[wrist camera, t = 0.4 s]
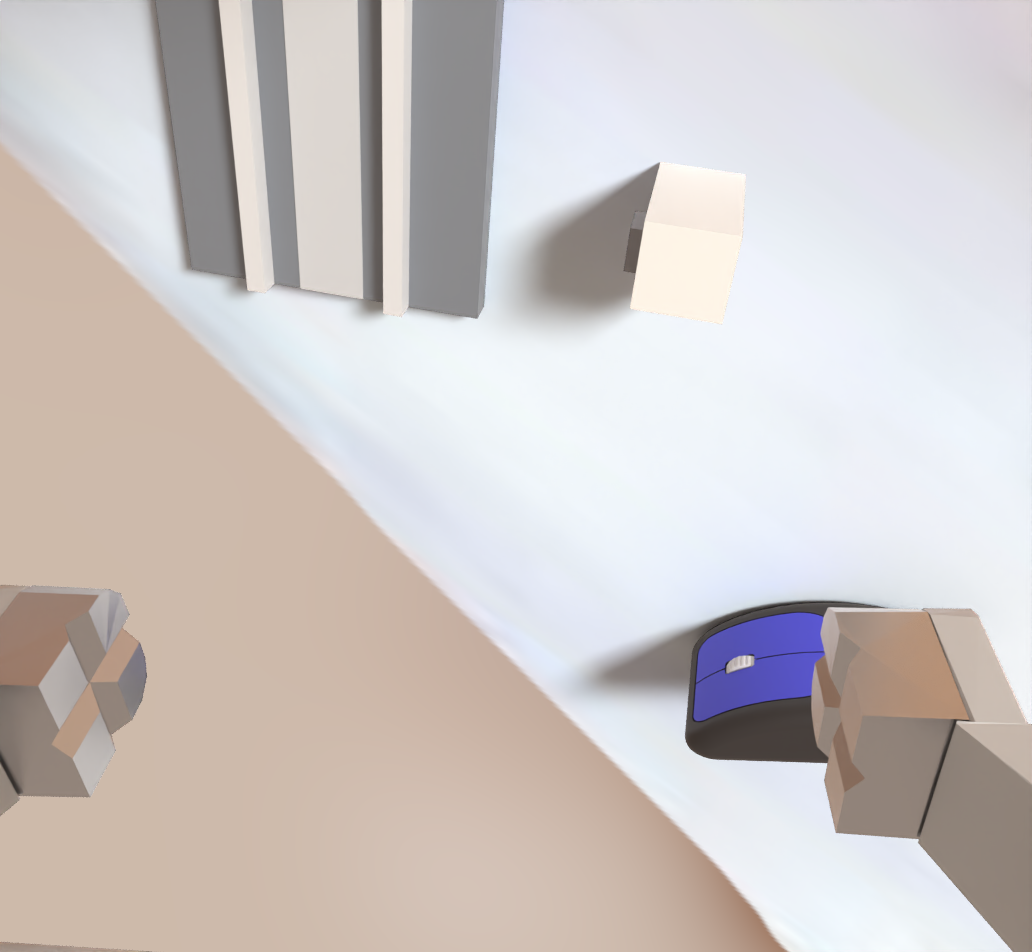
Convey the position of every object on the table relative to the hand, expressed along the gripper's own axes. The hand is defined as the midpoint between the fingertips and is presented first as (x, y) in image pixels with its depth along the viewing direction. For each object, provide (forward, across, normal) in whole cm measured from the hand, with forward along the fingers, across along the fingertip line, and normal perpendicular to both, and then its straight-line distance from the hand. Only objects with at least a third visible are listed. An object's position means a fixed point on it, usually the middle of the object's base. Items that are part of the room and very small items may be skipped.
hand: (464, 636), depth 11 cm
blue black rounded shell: (+38, -15, +36) cm, 54 cm away
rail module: (+38, -6, +8) cm, 39 cm away
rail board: (+40, +12, +4) cm, 42 cm away
